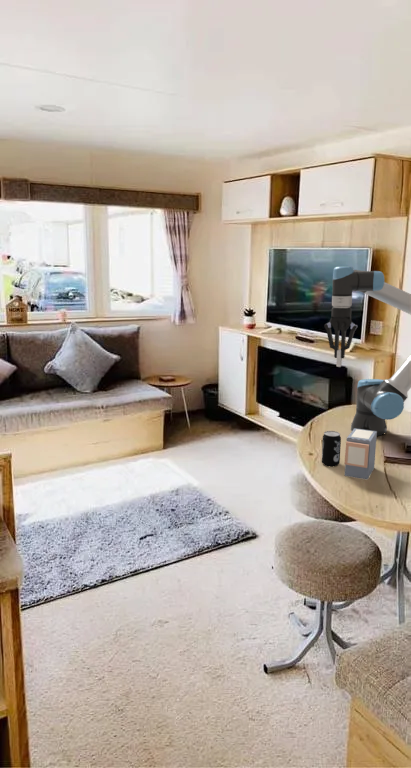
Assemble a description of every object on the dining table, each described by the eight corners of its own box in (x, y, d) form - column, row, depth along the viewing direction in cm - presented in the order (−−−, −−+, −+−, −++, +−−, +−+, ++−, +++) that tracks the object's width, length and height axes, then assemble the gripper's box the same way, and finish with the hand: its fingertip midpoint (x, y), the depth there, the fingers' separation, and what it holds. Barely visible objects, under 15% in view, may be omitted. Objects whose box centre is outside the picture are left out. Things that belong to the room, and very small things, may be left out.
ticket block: (352, 464, 207) (354, 428, 203) (374, 467, 203) (376, 431, 200) (344, 475, 196) (346, 437, 193) (367, 479, 193) (370, 441, 190)
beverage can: (329, 468, 203) (330, 437, 200) (317, 462, 209) (319, 432, 206) (343, 465, 206) (345, 434, 203) (331, 459, 212) (333, 429, 209)
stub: (346, 441, 193) (346, 442, 192) (369, 444, 189) (368, 445, 188) (345, 463, 194) (344, 464, 193) (367, 467, 191) (366, 468, 190)
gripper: (322, 307, 217) (320, 366, 222) (356, 308, 211) (353, 369, 217) (327, 305, 223) (325, 363, 229) (360, 306, 218) (357, 365, 223)
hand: (338, 366), depth 223 cm, fingers closed
